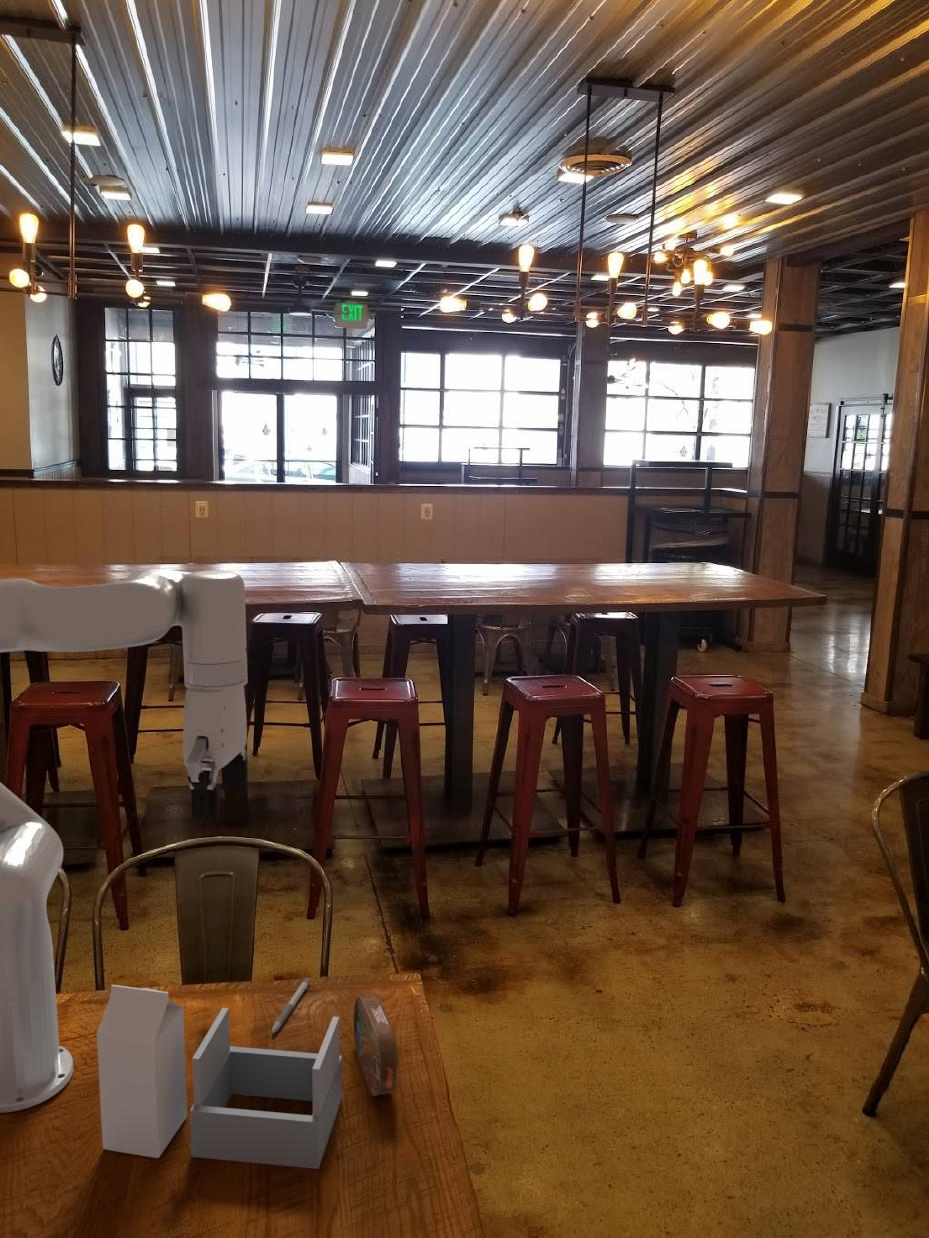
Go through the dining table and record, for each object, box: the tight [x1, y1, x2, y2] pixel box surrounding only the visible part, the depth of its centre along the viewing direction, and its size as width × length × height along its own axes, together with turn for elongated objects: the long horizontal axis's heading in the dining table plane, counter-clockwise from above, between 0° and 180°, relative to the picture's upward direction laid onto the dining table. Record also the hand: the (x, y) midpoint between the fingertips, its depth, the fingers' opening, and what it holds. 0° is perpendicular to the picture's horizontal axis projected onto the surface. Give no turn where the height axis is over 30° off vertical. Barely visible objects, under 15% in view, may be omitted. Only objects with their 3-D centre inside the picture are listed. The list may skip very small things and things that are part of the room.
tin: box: [353, 995, 399, 1097], centre depth 126 cm, size 15×3×8 cm, turn 18°
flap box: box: [189, 1007, 343, 1170], centre depth 115 cm, size 15×12×12 cm
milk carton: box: [96, 984, 188, 1159], centre depth 113 cm, size 7×7×19 cm
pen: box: [271, 977, 311, 1034], centre depth 140 cm, size 1×14×1 cm, turn 168°
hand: (220, 803), depth 121 cm, fingers open, 9 cm apart
